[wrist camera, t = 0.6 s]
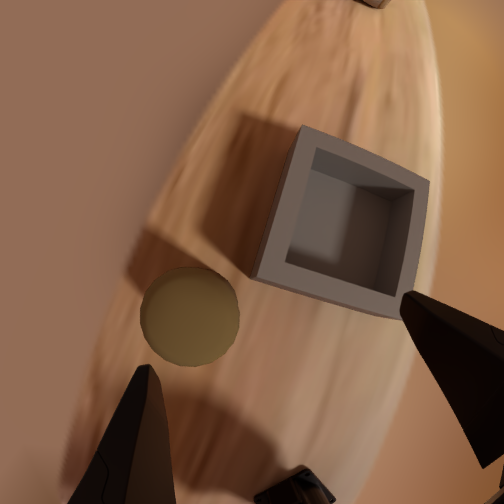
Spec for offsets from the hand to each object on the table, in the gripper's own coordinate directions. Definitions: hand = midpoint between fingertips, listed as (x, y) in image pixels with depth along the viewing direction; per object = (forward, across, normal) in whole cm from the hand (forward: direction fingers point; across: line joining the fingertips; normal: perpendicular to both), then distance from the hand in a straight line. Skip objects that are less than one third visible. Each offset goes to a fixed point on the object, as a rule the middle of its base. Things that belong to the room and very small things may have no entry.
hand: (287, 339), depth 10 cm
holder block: (+15, -9, +6) cm, 18 cm away
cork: (+13, +4, +9) cm, 16 cm away
